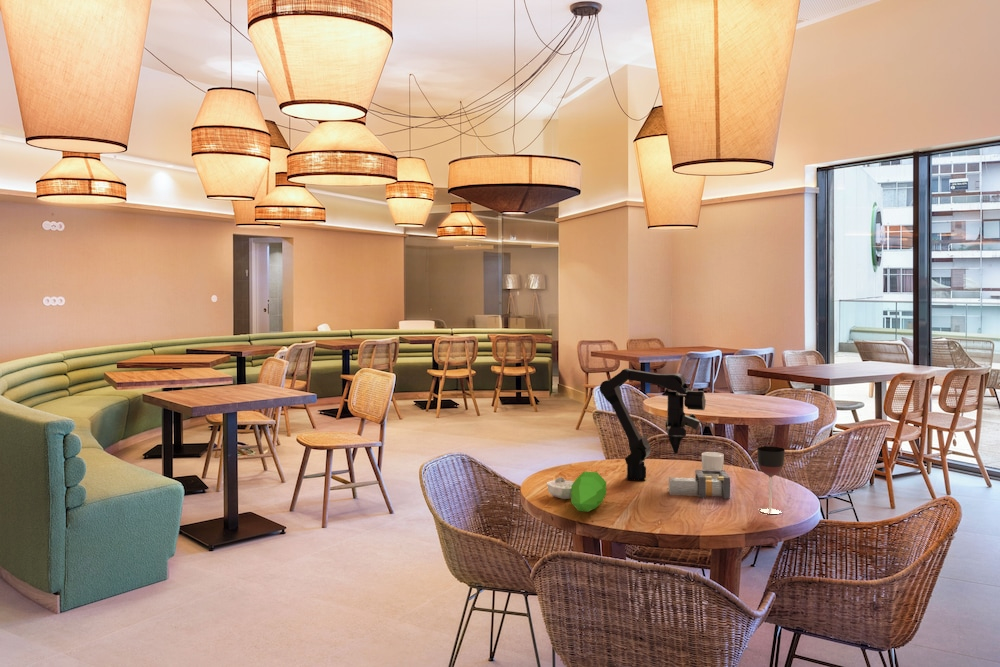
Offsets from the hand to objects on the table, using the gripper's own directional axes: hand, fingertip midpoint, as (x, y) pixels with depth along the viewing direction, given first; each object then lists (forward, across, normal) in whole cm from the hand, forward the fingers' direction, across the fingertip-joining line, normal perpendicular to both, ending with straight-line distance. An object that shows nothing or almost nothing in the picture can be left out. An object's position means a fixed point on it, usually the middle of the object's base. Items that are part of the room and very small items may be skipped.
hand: (675, 450), depth 268 cm
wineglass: (+12, -32, -27) cm, 44 cm away
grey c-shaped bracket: (+12, -14, -12) cm, 22 cm away
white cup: (+12, +5, -14) cm, 19 cm away
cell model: (+12, -26, +39) cm, 48 cm away
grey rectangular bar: (+12, -14, -7) cm, 20 cm away
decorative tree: (+12, -38, +30) cm, 50 cm away
